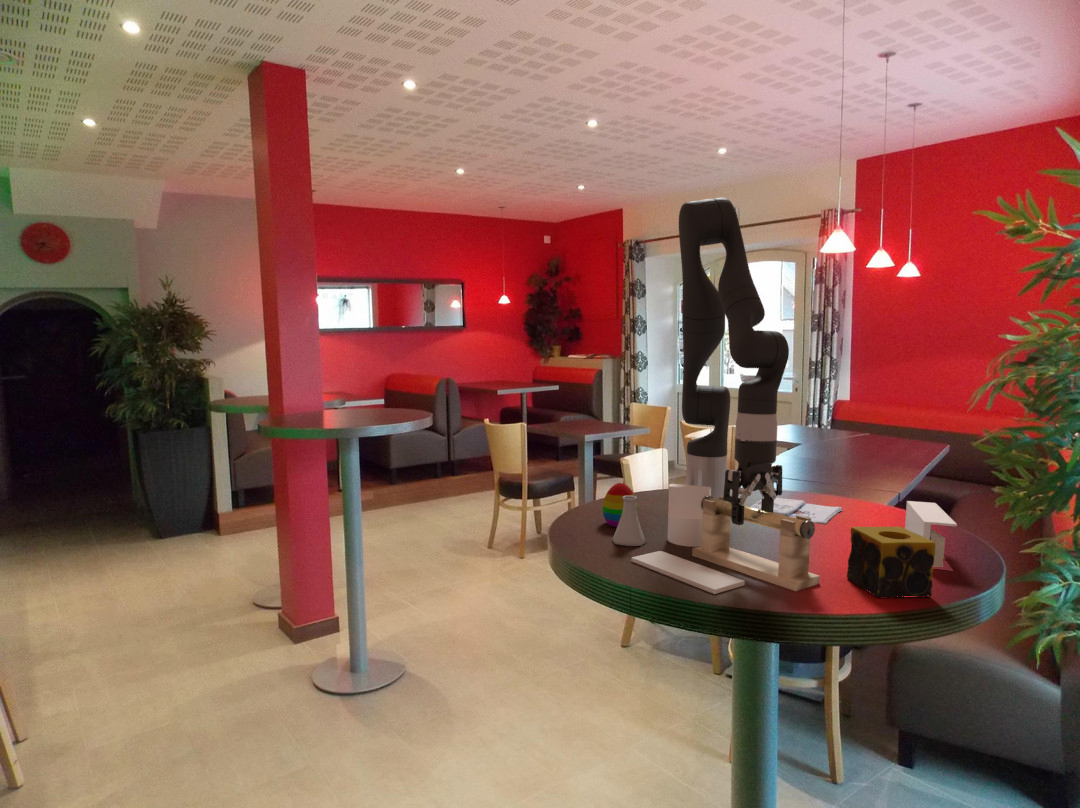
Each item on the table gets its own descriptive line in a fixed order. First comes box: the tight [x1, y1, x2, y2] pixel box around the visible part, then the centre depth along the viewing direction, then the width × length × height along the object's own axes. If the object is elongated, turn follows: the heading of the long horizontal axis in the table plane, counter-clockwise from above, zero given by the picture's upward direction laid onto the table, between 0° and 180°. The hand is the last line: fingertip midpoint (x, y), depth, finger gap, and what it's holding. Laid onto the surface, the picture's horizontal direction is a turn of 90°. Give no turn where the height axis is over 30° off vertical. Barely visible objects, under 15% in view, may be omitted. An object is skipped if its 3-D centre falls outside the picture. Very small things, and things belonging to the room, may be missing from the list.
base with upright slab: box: [667, 483, 711, 548], centre depth 149 cm, size 9×9×12 cm
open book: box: [750, 497, 843, 525], centre depth 177 cm, size 19×20×2 cm
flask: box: [611, 495, 647, 547], centre depth 147 cm, size 7×7×10 cm
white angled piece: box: [904, 500, 958, 567], centre depth 141 cm, size 20×6×9 cm, turn 161°
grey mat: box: [630, 550, 746, 595], centre depth 128 cm, size 8×21×1 cm, turn 35°
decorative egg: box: [602, 482, 638, 528], centre depth 162 cm, size 8×8×10 cm
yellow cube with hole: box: [846, 526, 935, 598], centre depth 121 cm, size 10×10×10 cm
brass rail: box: [701, 496, 816, 540], centre depth 130 cm, size 24×3×3 cm, turn 35°
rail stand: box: [691, 497, 821, 592], centre depth 131 cm, size 7×24×12 cm, turn 35°
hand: (752, 521), depth 130 cm, fingers open, 8 cm apart
